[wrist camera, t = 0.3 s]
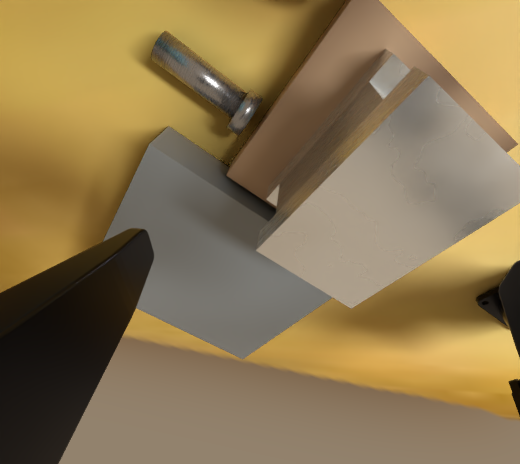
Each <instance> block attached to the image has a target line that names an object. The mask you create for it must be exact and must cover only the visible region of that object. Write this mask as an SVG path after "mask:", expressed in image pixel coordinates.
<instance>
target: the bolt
mask: <svg viewBox="0 0 520 464" xmlns="http://www.w3.org/2000/svg"><path fill="white" fill-rule="evenodd" d="M151 59H152V60H153V61H154V62H155V63H157V64H158V65H159V66H161V67H162V68H164V69H165V70H166V71H168V72H169V73H170V74H172V75H173V76H174V77H176V78H177V79H178V80H180V81H181V82H183V83H184V84H185V85H187V86H188V87H189V88H191V89H192V90H193V91H195V92H196V93H197V94H199V95H200V96H201V97H203V98H204V99H206V100H207V101H208V102H210V103H211V104H212V105H214V106H215V107H216V108H218V109H219V110H220V111H222V112H223V113H225V114H226V115H227V116H229V117H230V118H231V121H230V122H229V124H228V126H227V128H228V129H230V130H231V131H232V132H234V133H235V134H237V135H238V136H239V135H240V133H241V132H242V131H243V129H244V128H245V127H246V125H247V124H248V122H249V121H250V119H251V118H252V116H253V114H254V113H255V111H256V110H257V108H258V106H259V105H260V103H261V101H262V99H263V98H262V97H260V96H259V95H258V94H256V93H255V92H254V91H253V90H251V89H250V91H249V93H248V94H247V93H246V92H245V91H243V90H242V89H241V88H240V87H238V86H237V85H236V84H234V83H233V82H232V81H231V80H229V79H228V78H227V77H225V76H224V75H223V74H222V73H220V72H219V71H218V70H216V69H215V68H214V67H213V66H211V65H210V64H209V63H207V62H206V61H205V60H204V59H202V58H201V57H200V56H198V55H197V54H196V53H195V52H193V51H192V50H191V49H189V48H188V47H187V46H186V45H184V44H183V43H182V42H180V41H179V40H178V39H177V38H175V37H174V36H173V35H171V34H170V33H169V32H168V31H164V32H163V33H162V34H161V35H160V37H159V38H158V40H157V41H156V43H155V45H154V48H153V51H152V54H151Z"/></svg>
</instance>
